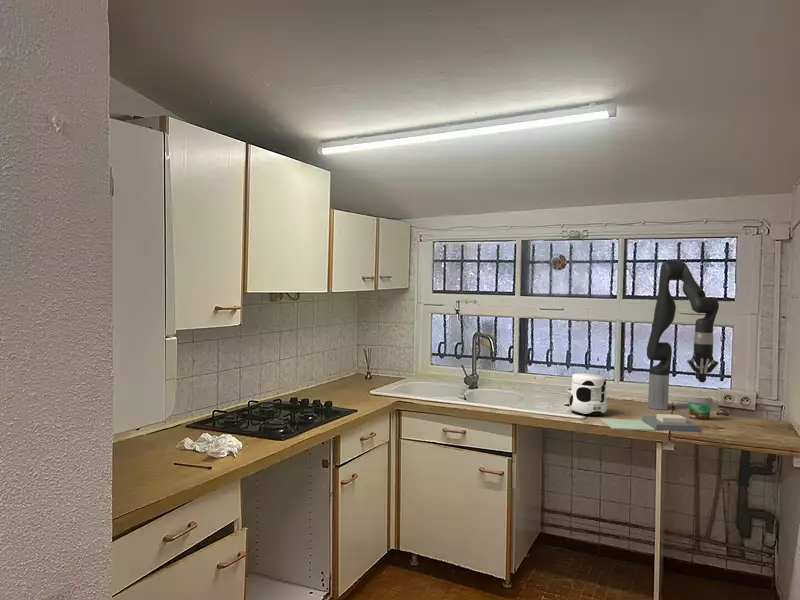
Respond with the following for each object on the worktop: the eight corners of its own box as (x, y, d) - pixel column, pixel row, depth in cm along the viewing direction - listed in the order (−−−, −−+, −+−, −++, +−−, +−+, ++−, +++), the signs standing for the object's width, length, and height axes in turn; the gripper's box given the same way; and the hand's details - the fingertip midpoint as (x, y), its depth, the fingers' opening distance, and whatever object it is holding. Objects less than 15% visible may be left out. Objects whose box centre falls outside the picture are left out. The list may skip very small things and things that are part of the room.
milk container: (578, 407, 296) (579, 371, 295) (612, 413, 284) (613, 376, 284) (562, 413, 283) (563, 375, 282) (598, 419, 271) (599, 380, 271)
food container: (696, 421, 273) (697, 399, 273) (686, 418, 279) (687, 396, 278) (718, 420, 276) (719, 398, 276) (708, 417, 282) (709, 396, 282)
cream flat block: (656, 418, 265) (656, 414, 265) (679, 419, 265) (679, 414, 265) (662, 422, 258) (662, 417, 258) (686, 423, 258) (686, 418, 258)
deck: (642, 421, 270) (642, 415, 270) (682, 422, 269) (682, 417, 269) (656, 430, 254) (656, 424, 254) (698, 431, 253) (699, 426, 253)
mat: (600, 419, 271) (600, 418, 271) (640, 421, 270) (640, 419, 270) (612, 429, 254) (612, 427, 254) (655, 430, 253) (655, 429, 253)
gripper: (714, 342, 263) (713, 381, 264) (684, 341, 264) (682, 380, 264) (723, 344, 256) (721, 384, 256) (692, 343, 256) (690, 383, 257)
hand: (701, 382), depth 260 cm, fingers closed
